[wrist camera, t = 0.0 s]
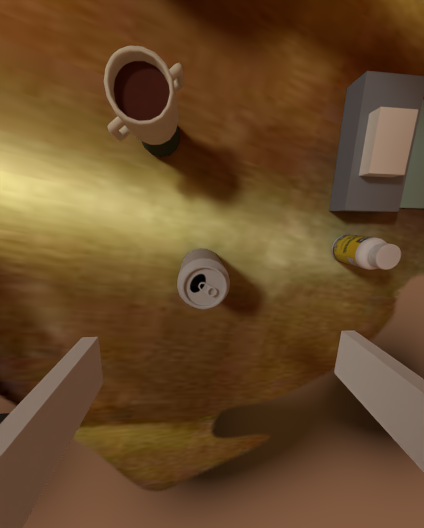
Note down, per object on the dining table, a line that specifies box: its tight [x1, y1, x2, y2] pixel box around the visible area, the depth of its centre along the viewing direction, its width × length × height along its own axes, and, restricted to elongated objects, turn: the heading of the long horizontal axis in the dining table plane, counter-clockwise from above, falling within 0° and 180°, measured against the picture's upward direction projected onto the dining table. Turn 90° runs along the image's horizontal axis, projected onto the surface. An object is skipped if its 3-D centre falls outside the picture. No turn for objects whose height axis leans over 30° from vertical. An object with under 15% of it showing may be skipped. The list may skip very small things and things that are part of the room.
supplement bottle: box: [331, 235, 401, 270], centre depth 35 cm, size 5×5×10 cm
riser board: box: [330, 71, 424, 212], centre depth 34 cm, size 20×10×4 cm, turn 179°
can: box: [177, 249, 230, 309], centre depth 33 cm, size 8×8×12 cm
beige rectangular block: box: [359, 107, 418, 177], centre depth 32 cm, size 9×6×2 cm, turn 179°
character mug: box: [104, 46, 184, 156], centre depth 27 cm, size 11×7×13 cm, turn 128°
